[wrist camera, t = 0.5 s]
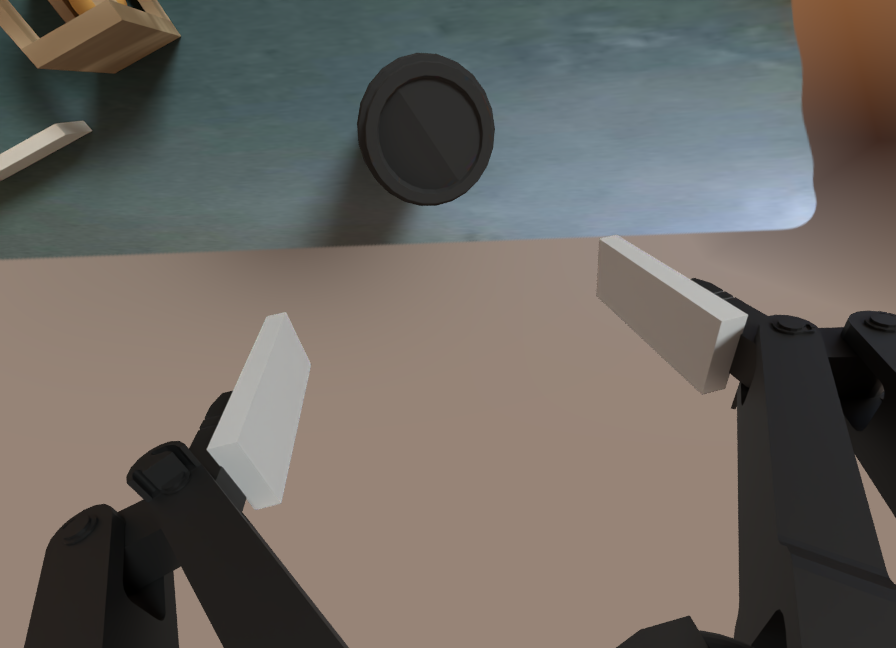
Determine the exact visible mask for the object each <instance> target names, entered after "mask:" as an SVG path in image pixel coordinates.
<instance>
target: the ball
mask: <svg viewBox="0 0 896 648" xmlns="http://www.w3.org/2000/svg"><path fill="white" fill-rule="evenodd" d="M116 1H117V2H118V3H120V4H123V5H126V6H127V3H126V0H116ZM69 2H70V4H71V6H72V7H73V9H74V10H75V11H76V12H77V13H78V14H79V15H81V14H83V13H85V12H86V11H88V10H90V9H91V8H93V7H95V6H96V5H95V4H94V3H93V1H92V0H69Z"/></svg>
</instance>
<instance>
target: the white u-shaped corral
mask: <svg viewBox="0 0 896 648" xmlns="http://www.w3.org/2000/svg"><path fill="white" fill-rule="evenodd" d="M91 131H92V130H91V129H90V127H89V126H88V125H87V124H86V123H85V122H84V121H75V122H65V123H56V124H54V125H52V126H50V127H48V128H47V129H45V130H43V131H41V132H39V133H38V134H36V135H34V136H32V137H30V138H29V139H27V140H25V141H23V142H21V143H20V144H18V145H16V146H14V147H12V148H11V149H9V150H7V151H5V152H3V153H2V154H0V181H2V180H4V179H6V178H8V177H9V176H11V175H13V174H15V173H17V172H18V171H20V170H22V169H24V168H26V167H28V166H29V165H31V164H33V163H35V162H37V161H39V160H40V159H42V158H44V157H46V156H48V155H49V154H51V153H53V152H55V151H57V150H59V149H60V148H62V147H64V146H66V145H68V144H69V143H71V142H73V141H75V140H77V139H79V138H80V137H82V136H84V135H86V134H88V133H89V132H91Z"/></svg>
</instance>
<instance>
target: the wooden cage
mask: <svg viewBox="0 0 896 648" xmlns="http://www.w3.org/2000/svg"><path fill="white" fill-rule="evenodd" d="M48 1H49V2H50V4H51V5H52V6H53V7H54V9H55V10H56V11H57V12H58V14H59V15H60V16H61V17H62V19H63V20H64V21H65V22H66V24H64V25H62V26H60V27H59V28H57V29H55V30H53V31H52V32H50V33H48V34H47V35H45V36H43V37H41V38H39V37H38V36H37V35H36V33H35V32H34V31H33V30H32V29H31V27H30V26H29V25H28V24H27V23H26V21H25V20H24V19H23V18H22V17H21V15H20V14H19V13H18V12H17V11H16V9H15V8H14V7H13V6H12V5H11V4H10V2H9V1H8V0H0V26H1V27H2V28H3V29H4V30H5V32H6V33H7V34H8V35H9V36H10V37H11V38H12V40H13V41H14V42H15V43H16V44H17V45H18V46H19V48H20V49H21V50H22V51H23V52H24V53H25V54H26V56H27V57H28V58H29V59H30V60H31V61H32V63H33V64H34V65H35V66H36V67H37V68H39V69H54V70H68V71H83V72H98V73H113V74H115V73H117V72H118V71H120V70H122V69H124V68H126V67H127V66H129V65H131V64H133V63H134V62H136V61H138V60H140V59H142V58H143V57H145V56H147V55H149V54H151V53H152V52H154V51H156V50H158V49H159V48H161V47H163V46H165V45H167V44H168V43H170V42H172V41H174V40H175V39H177V38H179V37H181V36H180V34H179V33H178V31H177V30H176V28H175V27H174V25H173V24H172V22H171V21H170V19H169V18H168V16H167V15H166V13H165V12H164V10H163V9H162V7H161V6H160V4H159V3H158V1H157V0H138V1H139V3H140V4H141V6H142V7H143V9H144V10H145V12H143V11H141V10H138V9H135V8H132V7H129V6H126V5H123V4H120V3H118V2H117V1H116V0H92V1H93V3H94V4H95V5H96V6H95V7H93V8H91V9H90V10H88V11H86V12H85V13H83V14H81V15H79V14H78V13H77V12H76V11H75V10H74V9H73V7H72V6H71V4H70V2H69V0H48Z"/></svg>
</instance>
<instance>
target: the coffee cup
mask: <svg viewBox="0 0 896 648" xmlns="http://www.w3.org/2000/svg"><path fill="white" fill-rule="evenodd" d="M357 128H358V141H359V146H360V149H361V152H362V155H363V158H364V161H365V163H366V165H367V166H368V168H369V170H370V171H371V173H372V175H373V176H374V178H375V179H376V180H377V181H378V182H379V183H380V184H381V185H382V186H383V187H384V188H385V189H386V190H387V191H388V192H389V193H390V194H392V195H394V196H396V197H397V198H399V199H401V200H402V201H405V202H408V203H412V204H416V205H419V206H436V205H440V204H443V203H447V202H451V201H453V200H455V199H456V198H458V197H460V196H461V195H463V194H465V193H466V192H467V191H468V190H469V189H470V188H471V187H472V186H473V185H474V184H475V183H476V182H477V181H478V180H479V178H480V177H481V175H482V173H483V172H484V170H485V169H486V167H487V165H488V162H489V159H490V156H491V153H492V150H493V143H494V132H495V127H494V120H493V113H492V108H491V106H490V103H489V101H488V98H487V96H486V93H485V91H484V89H483V88H482V87H481V85H480V84H479V82H478V81H477V80H476V78H475V77H474V76H473V74H471V73H470V72H469V71H468V70H466V69H465V68H464V67H463V66H461V65H460V64H459V63H458V62H455V61H453V60H451V59H448V58H445V57H443V56H440V55H438V54H428V53H415V54H411V55H407V56H404V57H400V58H398V59H396V60H394V61H393V62H391V63H390V64H388V65H387V66H385V67H384V68H382V69H381V70H380V72H379V73H378V74H377V75H376V76H375V78H374V79H373V80H372V81H371V82H370V83H369V85H368V87H367V90H366V92H365V94H364V96H363V98H362V101H361V103H360V109H359V115H358V121H357Z"/></svg>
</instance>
